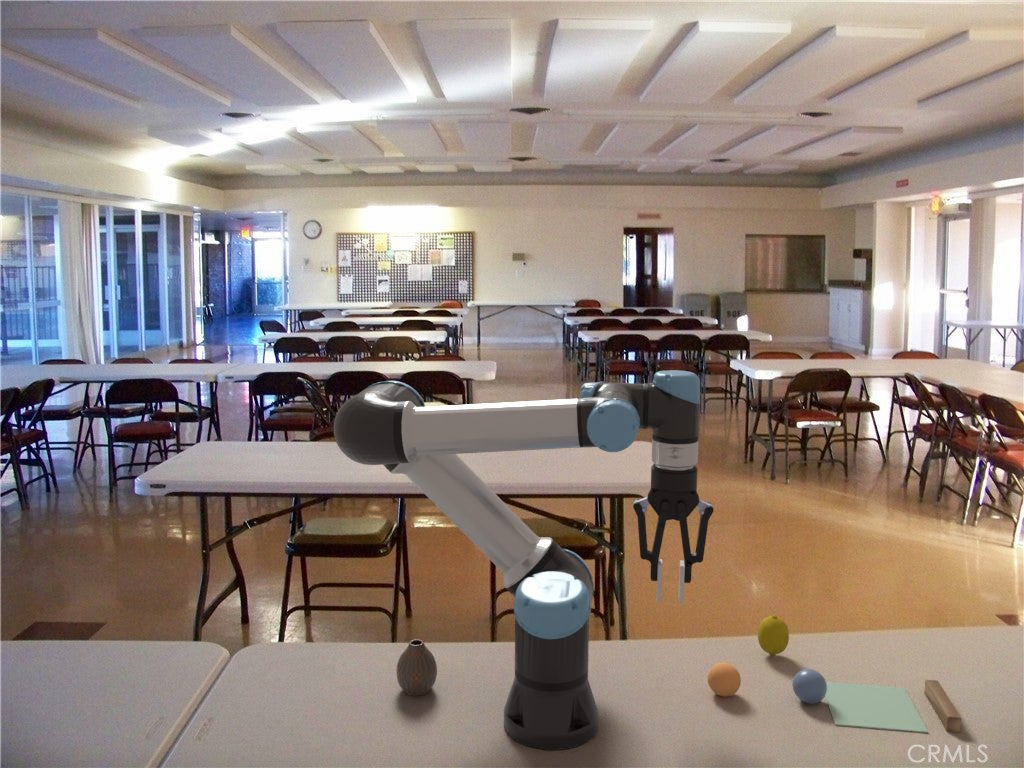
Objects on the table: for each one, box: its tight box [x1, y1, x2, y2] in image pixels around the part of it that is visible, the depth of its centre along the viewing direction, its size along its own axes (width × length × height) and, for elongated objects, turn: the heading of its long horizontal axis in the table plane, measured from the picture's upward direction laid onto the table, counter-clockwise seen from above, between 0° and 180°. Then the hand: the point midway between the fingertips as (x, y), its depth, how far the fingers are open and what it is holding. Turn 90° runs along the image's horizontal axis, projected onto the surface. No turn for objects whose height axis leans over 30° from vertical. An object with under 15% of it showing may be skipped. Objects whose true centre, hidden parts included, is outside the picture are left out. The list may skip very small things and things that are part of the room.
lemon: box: [757, 614, 790, 657], centre depth 165 cm, size 6×6×8 cm
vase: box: [396, 639, 438, 697], centre depth 152 cm, size 7×7×9 cm
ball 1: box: [707, 662, 742, 698], centre depth 151 cm, size 6×6×6 cm
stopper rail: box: [923, 679, 962, 733], centre depth 146 cm, size 2×12×2 cm, turn 171°
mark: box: [824, 681, 929, 734], centre depth 148 cm, size 14×14×1 cm
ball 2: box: [792, 668, 827, 704], centre depth 149 cm, size 6×6×6 cm
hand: (669, 599), depth 150 cm, fingers open, 3 cm apart
